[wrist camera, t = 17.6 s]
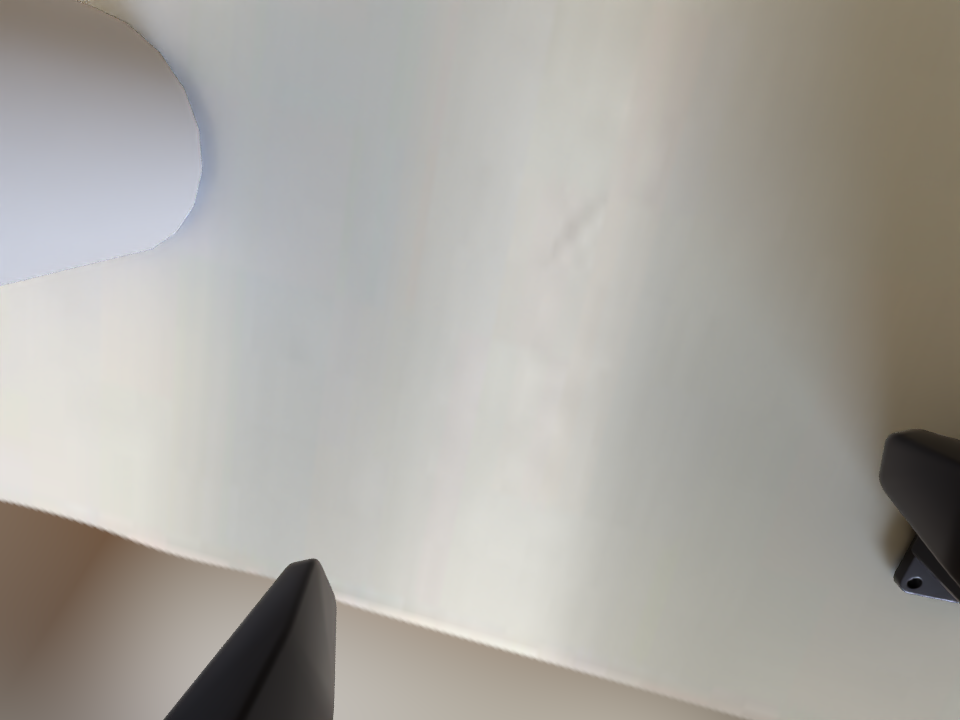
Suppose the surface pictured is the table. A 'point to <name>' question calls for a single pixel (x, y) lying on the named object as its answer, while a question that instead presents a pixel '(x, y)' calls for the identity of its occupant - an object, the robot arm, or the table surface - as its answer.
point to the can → (87, 140)
